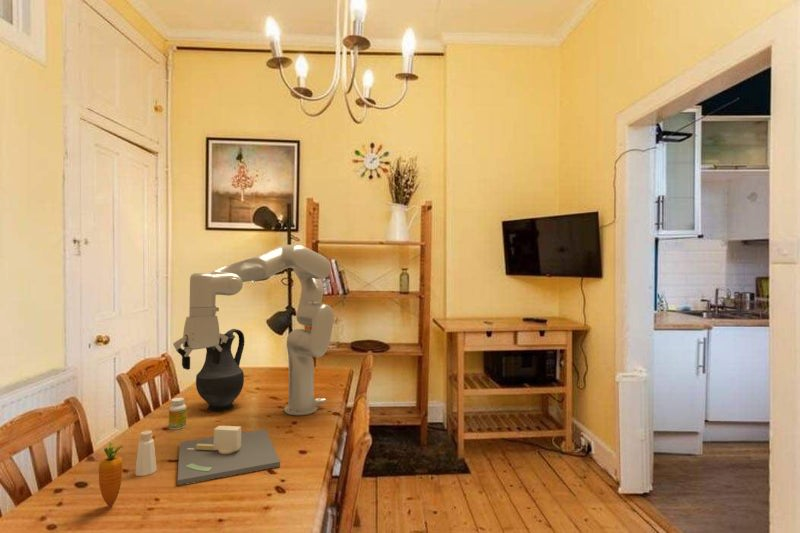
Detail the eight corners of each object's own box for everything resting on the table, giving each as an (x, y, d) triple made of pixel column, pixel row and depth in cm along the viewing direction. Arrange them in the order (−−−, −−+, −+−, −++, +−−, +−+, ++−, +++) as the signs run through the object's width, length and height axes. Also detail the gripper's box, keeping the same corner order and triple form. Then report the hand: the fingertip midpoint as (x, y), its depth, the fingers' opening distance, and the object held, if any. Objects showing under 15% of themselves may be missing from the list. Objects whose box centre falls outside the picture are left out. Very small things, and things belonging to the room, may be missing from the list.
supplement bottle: (179, 430, 150) (179, 402, 149) (165, 429, 151) (165, 401, 151) (189, 424, 155) (189, 397, 155) (176, 423, 156) (176, 396, 156)
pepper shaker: (141, 478, 117) (141, 437, 117) (130, 472, 120) (130, 432, 120) (161, 470, 122) (161, 430, 122) (150, 465, 125) (150, 426, 125)
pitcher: (185, 411, 168) (186, 333, 167) (226, 396, 187) (226, 326, 187) (221, 418, 161) (221, 337, 161) (259, 401, 181) (259, 329, 180)
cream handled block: (242, 447, 133) (242, 425, 133) (235, 454, 128) (235, 431, 128) (201, 445, 134) (201, 423, 134) (192, 452, 129) (192, 429, 129)
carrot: (105, 501, 106) (106, 439, 106) (127, 500, 107) (127, 439, 106) (93, 512, 101) (93, 448, 101) (115, 512, 102) (116, 447, 101)
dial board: (265, 433, 148) (265, 428, 148) (280, 466, 125) (280, 461, 125) (179, 446, 137) (179, 441, 137) (177, 486, 114) (177, 479, 114)
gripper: (221, 309, 148) (220, 359, 148) (168, 313, 134) (167, 369, 134) (234, 311, 143) (233, 363, 144) (180, 315, 130) (179, 373, 130)
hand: (201, 366), depth 139 cm, fingers open, 9 cm apart
